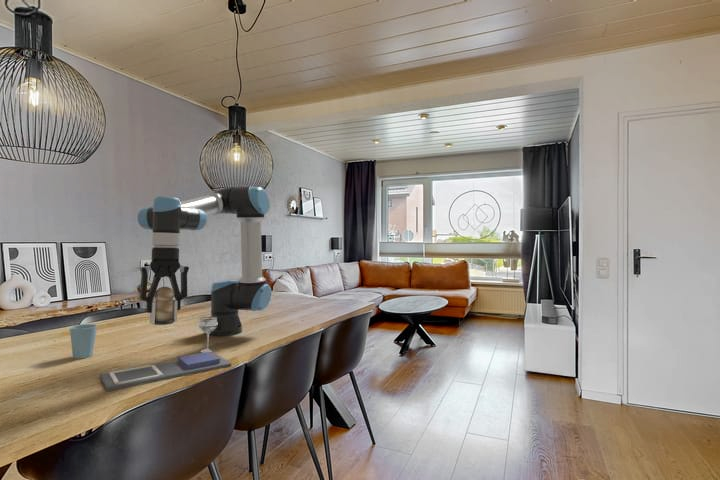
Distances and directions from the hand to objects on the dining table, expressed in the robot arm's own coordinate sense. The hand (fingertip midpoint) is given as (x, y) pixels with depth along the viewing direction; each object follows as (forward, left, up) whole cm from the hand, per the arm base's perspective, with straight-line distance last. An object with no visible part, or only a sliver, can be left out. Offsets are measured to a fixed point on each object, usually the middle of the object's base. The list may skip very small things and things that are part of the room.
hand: (163, 321), depth 116 cm
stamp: (0, 0, 0) cm, 0 cm away
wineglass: (-19, -15, -16) cm, 29 cm away
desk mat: (-2, 0, -16) cm, 16 cm away
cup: (+17, -34, -16) cm, 42 cm away
